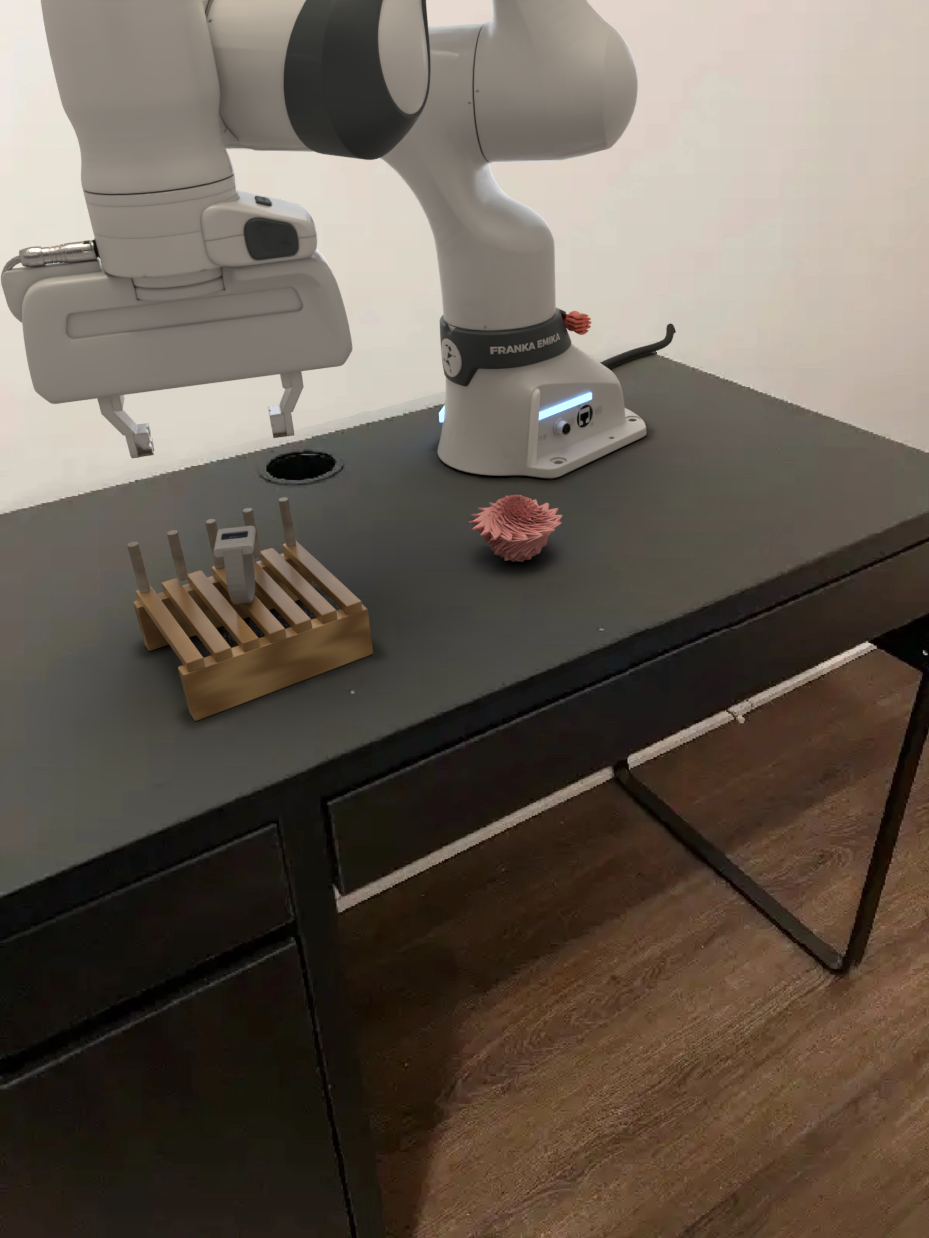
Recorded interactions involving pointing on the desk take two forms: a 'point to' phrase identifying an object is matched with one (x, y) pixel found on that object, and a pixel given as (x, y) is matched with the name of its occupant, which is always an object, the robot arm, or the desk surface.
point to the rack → (255, 659)
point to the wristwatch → (238, 561)
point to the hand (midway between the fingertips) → (214, 444)
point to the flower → (516, 526)
